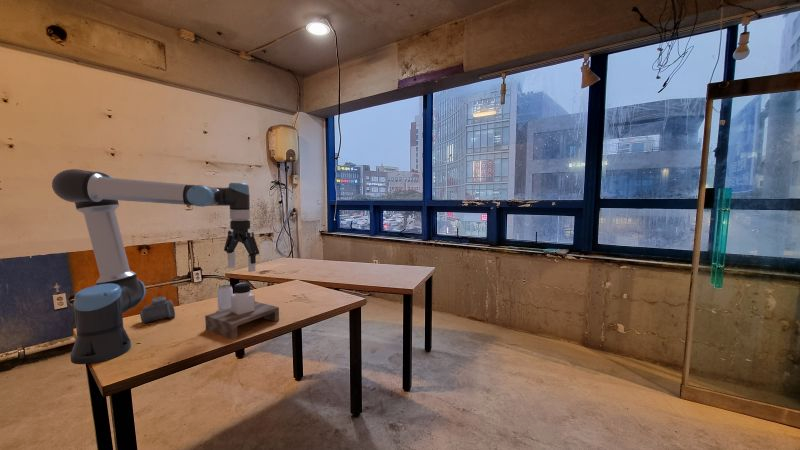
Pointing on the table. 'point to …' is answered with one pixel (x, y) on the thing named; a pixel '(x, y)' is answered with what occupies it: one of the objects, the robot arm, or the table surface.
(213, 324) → the shelf stand
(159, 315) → the pipe fitting
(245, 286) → the medicine bottle
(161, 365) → the table surface
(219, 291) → the can
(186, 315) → the table surface
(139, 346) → the table surface
